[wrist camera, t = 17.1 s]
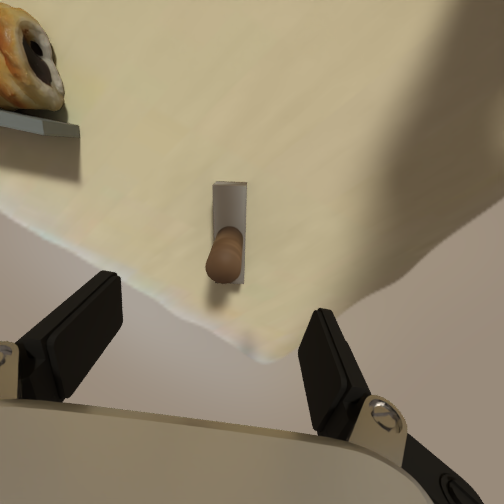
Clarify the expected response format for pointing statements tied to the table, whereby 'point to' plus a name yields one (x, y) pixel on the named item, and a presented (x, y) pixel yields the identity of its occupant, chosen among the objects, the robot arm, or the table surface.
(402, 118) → the table surface
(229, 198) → the stamp with brown handle
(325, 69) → the table surface
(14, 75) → the pastry
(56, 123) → the u-shaped bracket
